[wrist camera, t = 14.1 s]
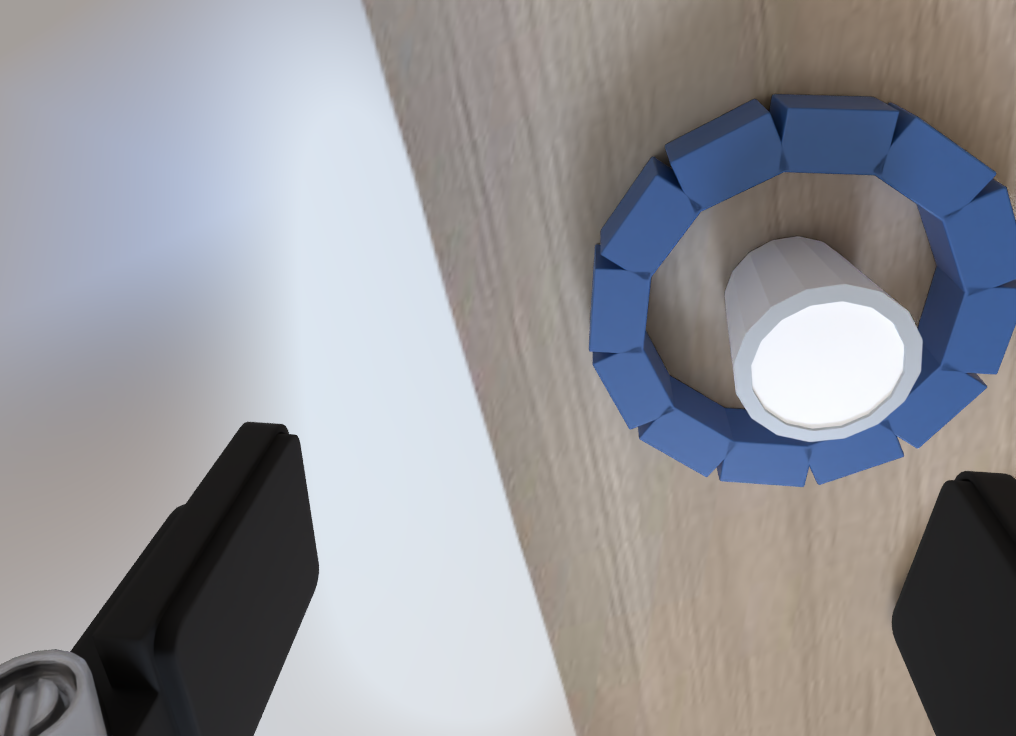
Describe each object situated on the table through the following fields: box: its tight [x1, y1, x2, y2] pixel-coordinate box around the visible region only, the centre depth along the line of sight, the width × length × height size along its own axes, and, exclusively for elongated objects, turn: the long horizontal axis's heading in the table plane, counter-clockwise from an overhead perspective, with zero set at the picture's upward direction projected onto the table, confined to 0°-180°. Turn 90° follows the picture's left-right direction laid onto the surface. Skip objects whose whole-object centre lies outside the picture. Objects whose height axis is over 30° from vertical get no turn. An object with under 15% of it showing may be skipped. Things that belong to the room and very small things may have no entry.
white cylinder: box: [725, 236, 923, 442], centre depth 31 cm, size 7×7×7 cm
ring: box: [589, 94, 1016, 487], centre depth 33 cm, size 17×17×3 cm
